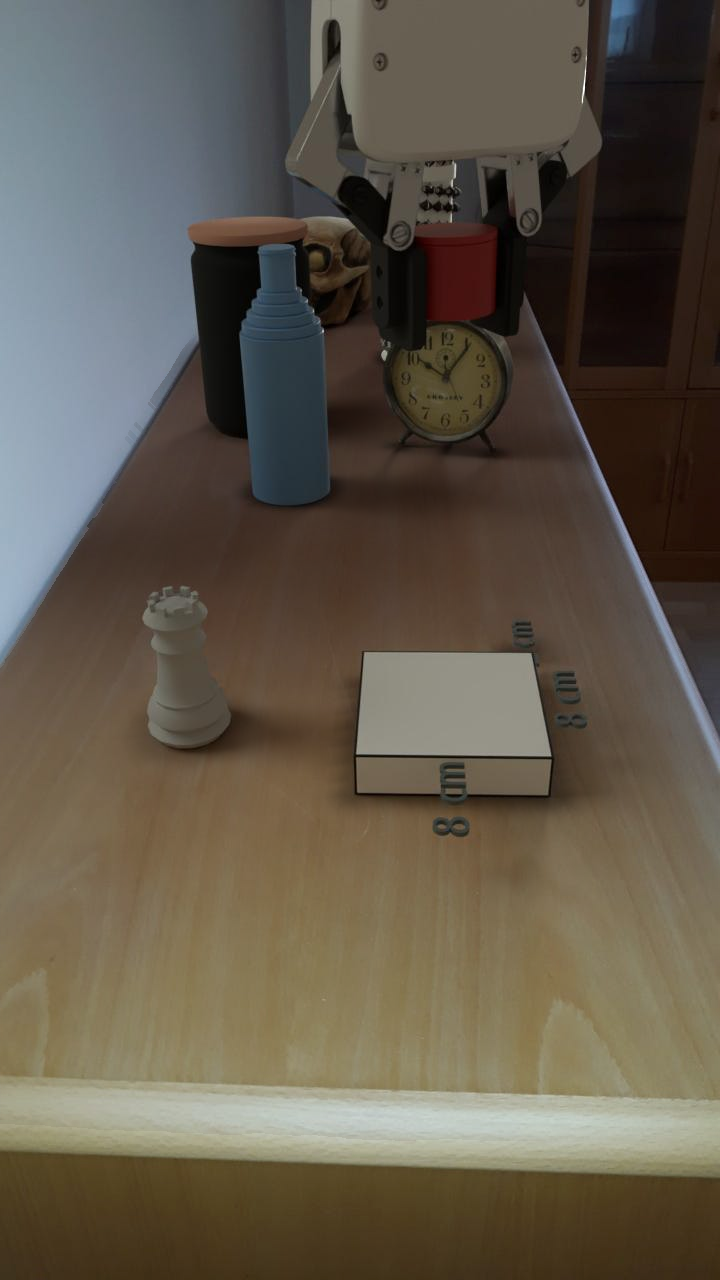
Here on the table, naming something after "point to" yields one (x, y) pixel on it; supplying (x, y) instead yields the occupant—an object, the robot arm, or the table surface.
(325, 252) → the skull
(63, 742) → the table surface
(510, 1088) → the table surface
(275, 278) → the bottle
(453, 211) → the decorative candle
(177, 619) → the rook chess piece
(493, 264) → the cap
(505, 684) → the container
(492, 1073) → the table surface
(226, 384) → the coffee jar
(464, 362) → the alarm clock
